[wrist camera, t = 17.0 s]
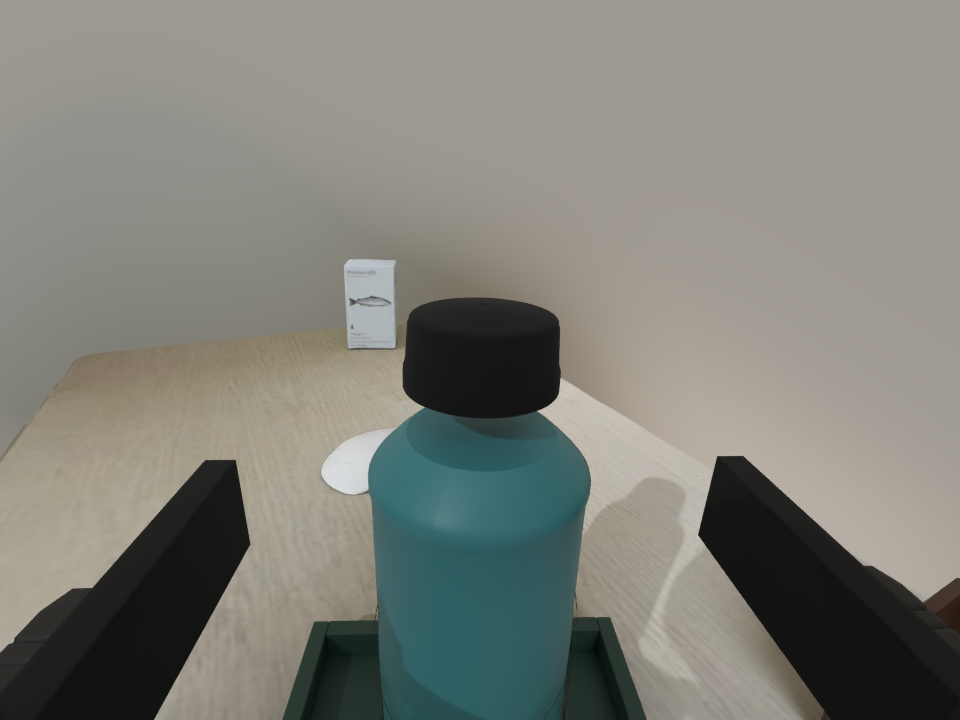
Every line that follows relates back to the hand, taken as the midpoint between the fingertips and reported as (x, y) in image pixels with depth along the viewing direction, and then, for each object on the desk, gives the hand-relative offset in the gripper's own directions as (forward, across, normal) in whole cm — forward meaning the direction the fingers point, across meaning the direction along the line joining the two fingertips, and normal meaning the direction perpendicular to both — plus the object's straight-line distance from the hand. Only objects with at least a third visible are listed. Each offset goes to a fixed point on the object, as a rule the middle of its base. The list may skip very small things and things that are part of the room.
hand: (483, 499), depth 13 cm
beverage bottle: (+1, 0, -15) cm, 15 cm away
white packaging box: (+60, -12, -16) cm, 64 cm away
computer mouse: (+27, -6, -16) cm, 32 cm away
